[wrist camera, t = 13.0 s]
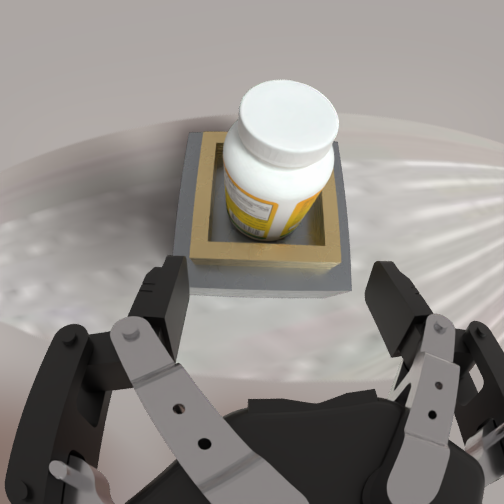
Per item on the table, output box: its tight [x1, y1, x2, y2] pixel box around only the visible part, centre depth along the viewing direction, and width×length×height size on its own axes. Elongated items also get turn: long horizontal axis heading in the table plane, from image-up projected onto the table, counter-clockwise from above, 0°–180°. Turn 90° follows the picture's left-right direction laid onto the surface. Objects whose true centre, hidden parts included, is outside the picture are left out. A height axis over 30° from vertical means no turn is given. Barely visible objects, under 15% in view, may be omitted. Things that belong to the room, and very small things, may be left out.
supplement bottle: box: [223, 80, 339, 241], centre depth 14 cm, size 5×5×10 cm
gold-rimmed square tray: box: [173, 132, 352, 298], centre depth 21 cm, size 12×12×8 cm
